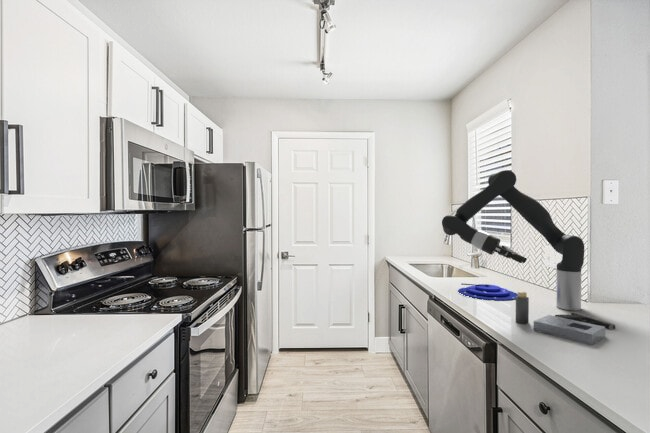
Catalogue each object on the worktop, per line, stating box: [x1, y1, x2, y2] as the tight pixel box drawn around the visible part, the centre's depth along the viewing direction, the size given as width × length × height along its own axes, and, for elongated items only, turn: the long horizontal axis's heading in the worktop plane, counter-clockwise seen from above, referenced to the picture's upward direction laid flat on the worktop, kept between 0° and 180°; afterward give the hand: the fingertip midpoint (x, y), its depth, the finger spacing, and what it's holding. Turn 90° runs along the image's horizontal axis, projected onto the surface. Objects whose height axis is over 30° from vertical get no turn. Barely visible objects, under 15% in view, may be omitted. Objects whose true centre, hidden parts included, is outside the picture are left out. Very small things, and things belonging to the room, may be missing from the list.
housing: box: [533, 314, 606, 346], centre depth 127 cm, size 13×18×4 cm
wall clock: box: [457, 283, 518, 302], centre depth 189 cm, size 30×6×30 cm
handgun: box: [554, 312, 616, 330], centre depth 138 cm, size 2×16×12 cm
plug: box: [515, 290, 530, 325], centre depth 139 cm, size 4×4×12 cm
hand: (524, 261), depth 141 cm, fingers open, 8 cm apart
